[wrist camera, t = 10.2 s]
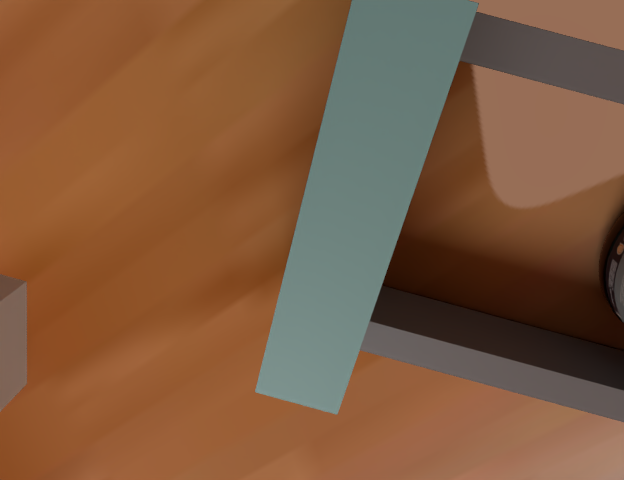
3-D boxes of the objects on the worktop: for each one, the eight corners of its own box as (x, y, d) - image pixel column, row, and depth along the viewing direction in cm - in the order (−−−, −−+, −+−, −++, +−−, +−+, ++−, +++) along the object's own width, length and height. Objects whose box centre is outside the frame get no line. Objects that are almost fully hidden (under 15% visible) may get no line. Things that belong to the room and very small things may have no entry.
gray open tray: (366, -13, 26) (359, -29, 17) (932, 137, 25) (1244, 205, 16) (289, 288, 33) (255, 392, 24) (725, 407, 33) (858, 557, 24)
